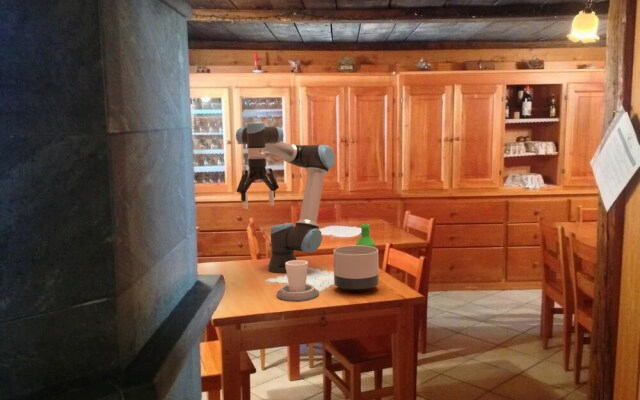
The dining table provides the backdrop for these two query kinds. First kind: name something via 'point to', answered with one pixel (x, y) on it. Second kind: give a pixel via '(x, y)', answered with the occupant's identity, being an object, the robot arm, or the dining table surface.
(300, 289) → the foam cup
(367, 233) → the bottle
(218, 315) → the dining table surface
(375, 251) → the planter
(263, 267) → the dining table surface
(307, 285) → the collar coaster
